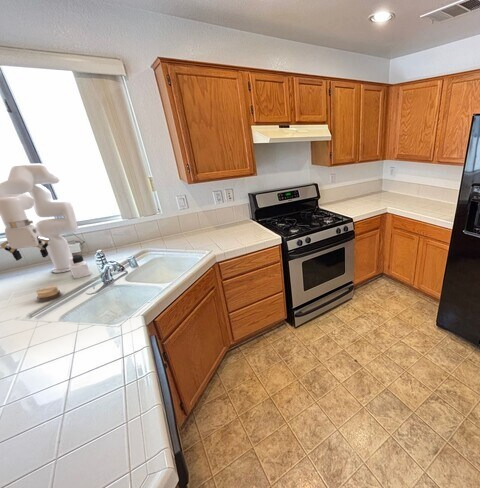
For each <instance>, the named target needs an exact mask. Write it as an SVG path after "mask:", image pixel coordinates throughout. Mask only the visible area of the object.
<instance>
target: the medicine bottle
mask: <svg viewBox="0 0 480 488" xmlns="http://www.w3.org/2000/svg"><path fill="white" fill-rule="evenodd" d="M68 260H69V262H70V264H69V267H70V272H71V275H72V276H73V278H74V279H75V280H76V279H80V278H84V277H86V276H91V271H90V268H89V266H88V263H87V262H86V261H85V260H84V258H83V255H80V254H75V255H73V256H72V257H70V258H69V259H68Z"/></svg>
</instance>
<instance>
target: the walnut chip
mask: <svg viewBox="0 0 480 488" xmlns="http://www.w3.org/2000/svg"><path fill="white" fill-rule="evenodd" d="M58 291H59V292H58V293H57V294H55V295H52V296H49V297H45V298H39V297H38V296H37V295H36V299H37V301H38V302H39V303H46V302H50V301H53V300H57V299H58V298H60V297H61V296H62V292H61V290H60V289H58Z"/></svg>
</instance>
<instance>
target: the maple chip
mask: <svg viewBox="0 0 480 488" xmlns="http://www.w3.org/2000/svg"><path fill="white" fill-rule="evenodd" d="M58 290H59V289H58V286H57V285H50V286H49V285H48V286H45V287H42V288H39V289H37V291H35V294H36V297H37V296H38V297H39V298H45V297H49V296H52V295H55V294H57V293H58V292H59V291H58Z"/></svg>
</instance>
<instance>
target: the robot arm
mask: <svg viewBox="0 0 480 488" xmlns="http://www.w3.org/2000/svg"><path fill="white" fill-rule="evenodd" d="M59 182H60V175H59V173H58V172H57V170H55V169H54V168H53V167H50V166H49V165H46V164H43V163H21V164H15V165H13V166H11V169H10V171H9V174H8V178H7V180H5V181H2V182H1V183H0V218H1V220H2V223H3V225H4V227H5V228H4V234H5V237H6V241H4V242H2V243H0V247H1V248H2V249H4V250H5V251H6V252H8V253H10V254H12V256H13V258H14V260H15V261H20V260H22V259H23V257H22V253H21V252H20V251H19V249H28V248H35V247H36V248H38V249H39V252H40V255H41V257H42V258H46V257H48V256H49V257H50V260H51V262H52V265H53V268H52V269H51V272H52V273H54V274H58V273H59V274H60V273H66V272H71V270H70V267H69V264H70V262H69V260H68V259H69V258H70V257H72V256H74V255H73V253H72V250H71V248H70V245H69V242H68V240H67V238H65V237H63V235H65V234H67V235H68V234H73V233H76V232H77V231H78V230H79V226H78V221H77V217H76V215H75V211H74V208H73V206H72V203H71V202H70V201H69V200H68V199H53V195H52V192H51V191H50V189H48V188H47V187H45V186H43V185H53V184H54V185H55V184H58V183H59ZM27 193H28V194H27ZM32 208H33V209H34V212H35V213H36V215H37V217H40V218H47V219H42V220H39V221H37V222H36V223H35V225H34V221H33V220H30V219H29V218H28V215H27V214H26V211H25V210H30V209H32ZM53 217H56V218H53ZM57 217H58V218H57Z"/></svg>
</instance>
